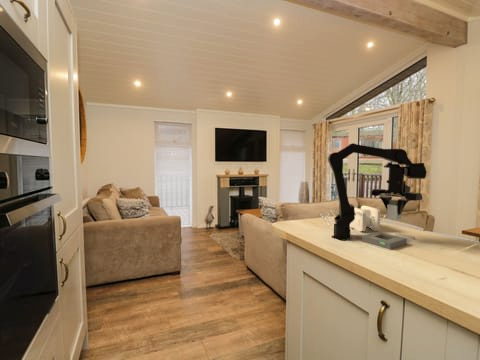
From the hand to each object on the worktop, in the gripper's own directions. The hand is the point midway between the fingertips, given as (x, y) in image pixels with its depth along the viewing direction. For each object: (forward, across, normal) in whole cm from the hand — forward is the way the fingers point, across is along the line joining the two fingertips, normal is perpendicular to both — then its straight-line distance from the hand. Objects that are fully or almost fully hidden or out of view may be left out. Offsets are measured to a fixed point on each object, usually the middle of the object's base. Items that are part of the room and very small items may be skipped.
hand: (394, 213), depth 111 cm
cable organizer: (+13, +18, -6) cm, 23 cm away
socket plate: (+12, 0, +7) cm, 14 cm away
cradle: (+12, 0, -6) cm, 13 cm away
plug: (+2, 0, 0) cm, 2 cm away
